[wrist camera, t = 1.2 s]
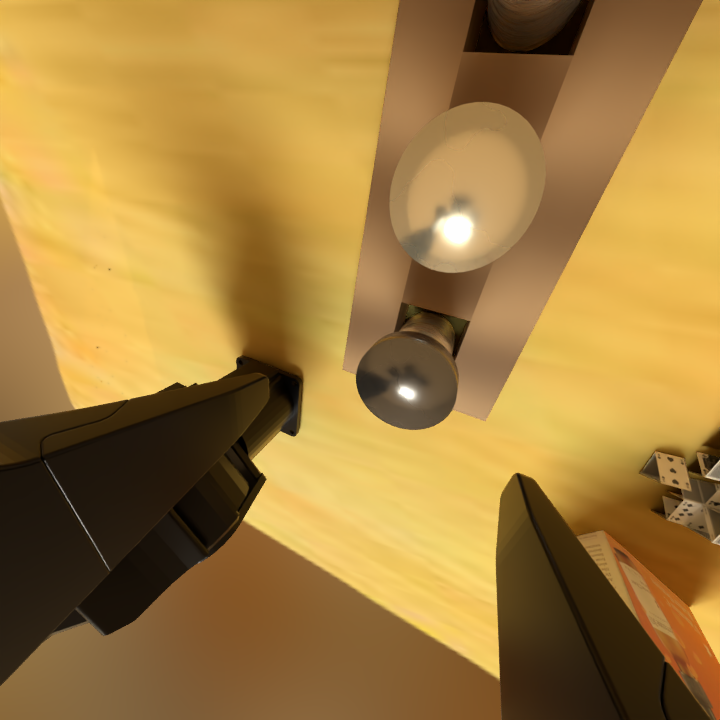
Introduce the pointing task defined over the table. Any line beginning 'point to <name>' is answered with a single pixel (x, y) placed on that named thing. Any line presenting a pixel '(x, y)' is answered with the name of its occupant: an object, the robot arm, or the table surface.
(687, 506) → the house of cards
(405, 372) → the grey plug
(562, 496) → the table surface
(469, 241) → the cream plug
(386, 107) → the socket board
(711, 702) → the small box
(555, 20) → the red plug
